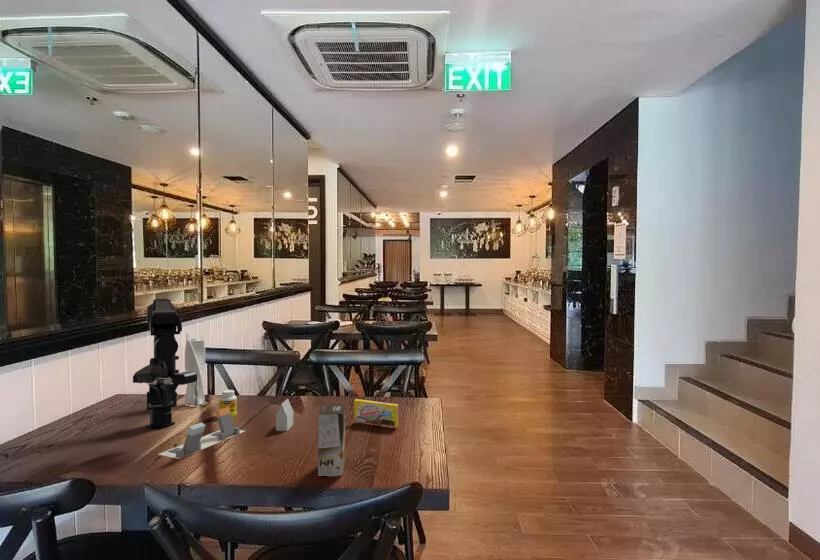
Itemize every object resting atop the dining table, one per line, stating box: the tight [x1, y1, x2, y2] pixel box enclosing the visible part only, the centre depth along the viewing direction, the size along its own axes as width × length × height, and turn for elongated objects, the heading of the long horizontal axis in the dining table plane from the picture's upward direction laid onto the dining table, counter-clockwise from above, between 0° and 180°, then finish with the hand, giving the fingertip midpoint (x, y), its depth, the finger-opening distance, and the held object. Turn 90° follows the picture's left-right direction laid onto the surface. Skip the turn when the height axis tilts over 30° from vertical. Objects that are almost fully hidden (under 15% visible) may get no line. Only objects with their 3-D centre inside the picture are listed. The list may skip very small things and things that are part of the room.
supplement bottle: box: [219, 389, 238, 419], centre depth 164 cm, size 6×6×10 cm
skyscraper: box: [184, 333, 209, 408], centre depth 183 cm, size 8×8×28 cm
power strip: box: [158, 426, 246, 460], centre depth 138 cm, size 8×25×3 cm, turn 157°
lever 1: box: [182, 421, 207, 456], centre depth 128 cm, size 2×4×8 cm, turn 156°
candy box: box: [353, 398, 399, 427], centre depth 159 cm, size 16×2×8 cm, turn 68°
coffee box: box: [317, 403, 346, 477], centre depth 122 cm, size 9×6×16 cm
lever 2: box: [214, 407, 235, 436], centre depth 143 cm, size 2×4×8 cm, turn 158°
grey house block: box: [275, 398, 295, 432], centre depth 152 cm, size 4×7×10 cm, turn 178°
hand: (165, 406), depth 138 cm, fingers closed
